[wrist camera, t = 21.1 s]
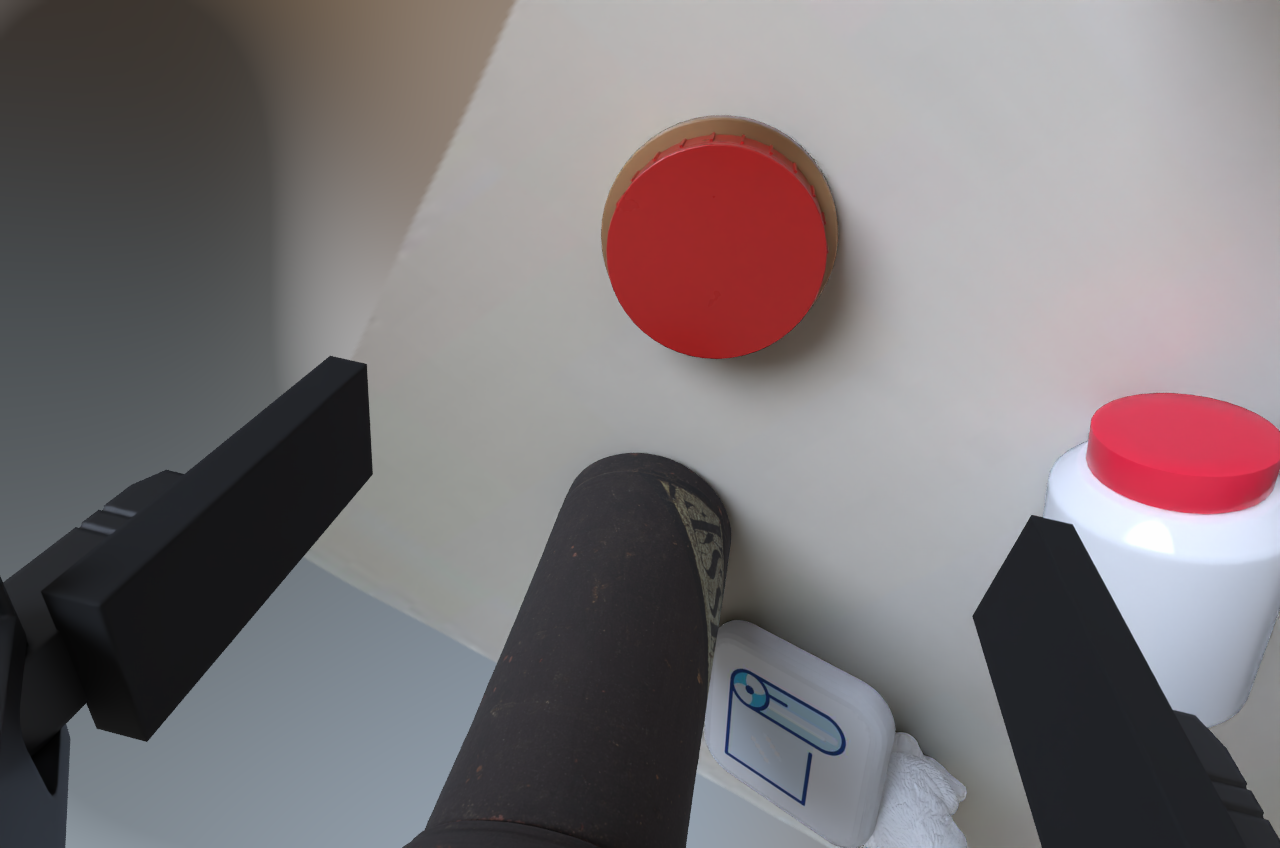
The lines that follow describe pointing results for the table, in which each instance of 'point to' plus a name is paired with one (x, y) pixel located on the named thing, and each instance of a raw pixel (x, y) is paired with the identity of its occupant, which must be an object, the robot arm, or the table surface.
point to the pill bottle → (1182, 537)
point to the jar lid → (717, 247)
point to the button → (799, 732)
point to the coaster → (736, 128)
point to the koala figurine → (917, 801)
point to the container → (599, 674)
